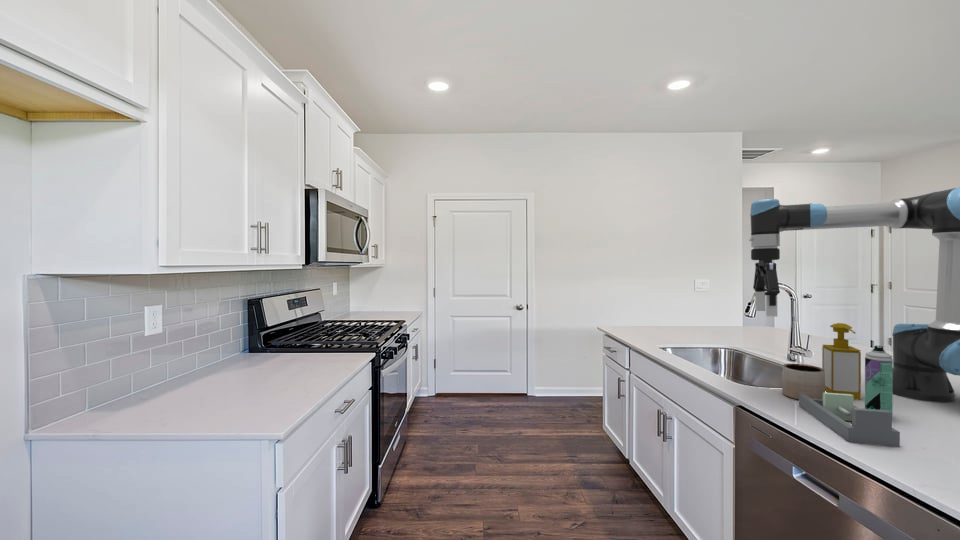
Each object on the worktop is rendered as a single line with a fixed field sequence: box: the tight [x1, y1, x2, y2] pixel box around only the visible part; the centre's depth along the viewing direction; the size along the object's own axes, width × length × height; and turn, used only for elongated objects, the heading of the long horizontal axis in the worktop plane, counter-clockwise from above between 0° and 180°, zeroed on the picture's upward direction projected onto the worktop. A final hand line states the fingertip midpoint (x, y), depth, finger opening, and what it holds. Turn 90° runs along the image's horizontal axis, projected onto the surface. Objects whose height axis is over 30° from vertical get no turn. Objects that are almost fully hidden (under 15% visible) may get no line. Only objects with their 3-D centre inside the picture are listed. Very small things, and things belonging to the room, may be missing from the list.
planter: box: [781, 363, 825, 401], centre depth 129 cm, size 11×11×10 cm
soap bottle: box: [821, 322, 862, 401], centre depth 127 cm, size 7×13×24 cm, turn 158°
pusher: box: [823, 393, 855, 422], centre depth 108 cm, size 6×5×7 cm
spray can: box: [864, 345, 894, 413], centre depth 112 cm, size 6×6×20 cm
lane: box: [798, 394, 901, 447], centre depth 108 cm, size 10×25×8 cm, turn 163°
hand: (765, 313), depth 128 cm, fingers open, 13 cm apart
